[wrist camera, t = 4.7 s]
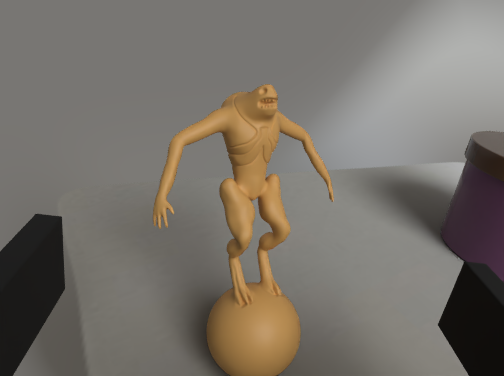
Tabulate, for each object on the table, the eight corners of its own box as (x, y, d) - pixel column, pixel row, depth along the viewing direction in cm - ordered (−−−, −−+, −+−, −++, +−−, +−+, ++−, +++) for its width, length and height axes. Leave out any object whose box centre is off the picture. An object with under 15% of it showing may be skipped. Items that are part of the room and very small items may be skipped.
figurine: (175, 443, 15) (211, 114, 10) (127, 330, 19) (135, 65, 14) (345, 367, 19) (426, 113, 14) (273, 289, 24) (316, 76, 19)
